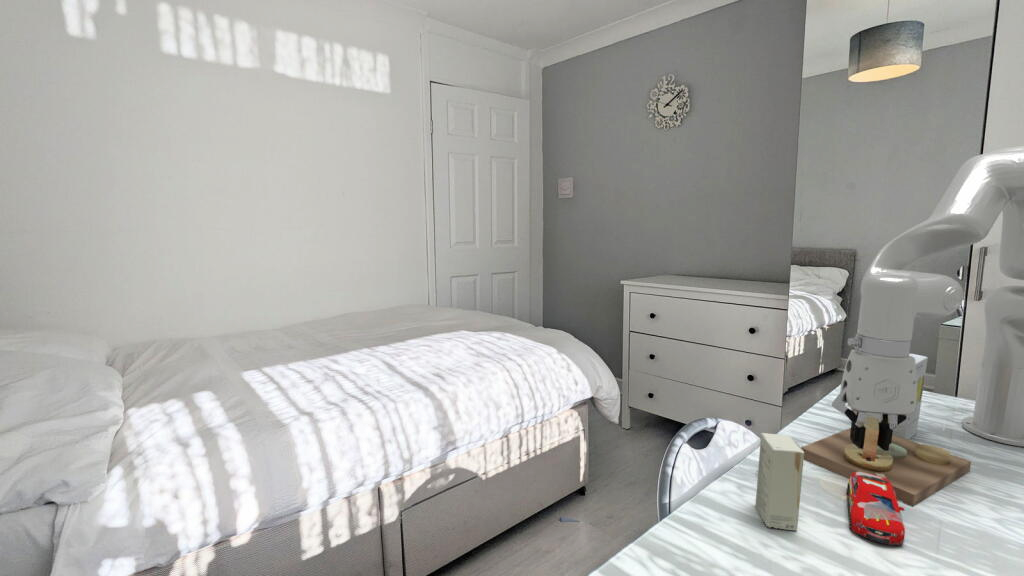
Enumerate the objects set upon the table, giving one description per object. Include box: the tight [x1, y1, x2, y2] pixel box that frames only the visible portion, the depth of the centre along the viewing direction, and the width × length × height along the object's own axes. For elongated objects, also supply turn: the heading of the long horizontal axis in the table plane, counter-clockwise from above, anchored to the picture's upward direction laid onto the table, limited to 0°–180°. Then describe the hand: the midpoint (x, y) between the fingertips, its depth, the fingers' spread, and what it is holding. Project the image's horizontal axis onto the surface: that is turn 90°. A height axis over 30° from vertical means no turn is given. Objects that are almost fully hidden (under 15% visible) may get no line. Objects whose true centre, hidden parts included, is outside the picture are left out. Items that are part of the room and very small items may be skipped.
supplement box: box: [864, 353, 928, 440], centre depth 105 cm, size 10×9×17 cm
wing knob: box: [844, 416, 893, 471], centre depth 88 cm, size 7×7×7 cm
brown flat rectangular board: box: [800, 424, 972, 507], centre depth 91 cm, size 22×18×4 cm
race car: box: [846, 472, 906, 546], centre depth 75 cm, size 16×7×5 cm, turn 147°
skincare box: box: [755, 432, 805, 531], centre depth 74 cm, size 6×4×12 cm
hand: (869, 445), depth 88 cm, fingers closed on wing knob, 3 cm apart
